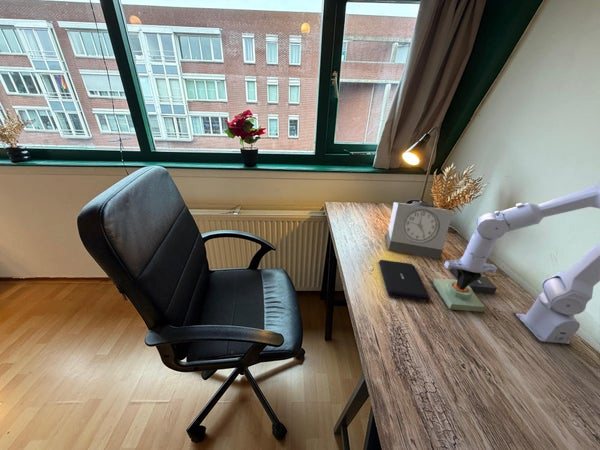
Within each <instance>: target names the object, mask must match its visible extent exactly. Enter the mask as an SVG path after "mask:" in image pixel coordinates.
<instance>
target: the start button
mask: <svg viewBox="0 0 600 450" xmlns="http://www.w3.org/2000/svg"><path fill="white" fill-rule="evenodd" d="M453 287H454V288H455V289H456V290H458V291H460V292H467V288H465V289H459V287H458V286H457V283H454V284H453Z"/></svg>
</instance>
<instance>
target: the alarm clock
mask: <svg viewBox="0 0 600 450" xmlns="http://www.w3.org/2000/svg"><path fill="white" fill-rule="evenodd" d="M453 212H454V210H451V209H446V208H439V207H434V206H433V203H429V202H423V201H414V200H413V201H412V203H403V202H396V201H394V202H393V205H392V209H391V216H390V218H389V225H388V229H387V232H386V236H385V237H386V243H387V250H388V251H391V252H395V253H401V254H402V253H403V254H407V255H412V256H419V257H423V258H431V259H435V260H441V259H442V256H443V252H444V248H445V243H446V240H447V236H448V231H449V228H450V224H451V220H452V216H453Z"/></svg>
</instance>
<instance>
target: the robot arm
mask: <svg viewBox="0 0 600 450" xmlns="http://www.w3.org/2000/svg"><path fill="white" fill-rule="evenodd" d="M586 208H594V209H600V181H599V182H597V183H595V184H593V185H591V186H588V187H586V188H583V189H580V190H577V191H573V192H571V193H568V194H565V195H562V196H560V197H556V198H553V199H551V200H548V201H545V202H542V203H539V204H534V203H530V202H527V203H524V204H523V202H519V203H516V204H515V206H514V207H510V208H507V209H504V210H501V211H499V210H496V211H494V213H493V212H492V213H491V212H487V213H485V214H482V215H480V217H478V218H476V226H477V227H476V228H475V230H474V231H473V234H472V235H471V237H470V240H469V241H468V243H467V246H466V248H465V251H464V252H463V255H462V256H461V257H460V258H459V259H452V260H445V262H444V265H443V266H444V268H445V269H446V270H450V271H451V268H452V269H457V275H458V278H456V280H457V286H458V287H459V289H465V288H466V287H467V286H468V285H469V284H470V283H472V282H473V281H475V280H476V279H479V278H480V277H481V274H480V273H479V272H483V273H484V272H490V273H491V274H495V273H496V272H497V270H498V267H497V266H496V265H495V264H493V263H488V262H487V260H488V259H489V256H490V254H491V253H492V251H493V249H494V247H495V245H496V242H497V240H498V239H500V238H502V237H503V236H504V235H505V234H506V233H508V232H513V231H516V230H519V229H523V228H528V227H532V226H535V225H539V224H540V223H541V221H542V220H543V219H544V218H547V217H551V216H556V215H560V214H565V213H569V212H573V211H577V210H582V209H586ZM599 282H600V240H599V241H598V242H597V243H596V244H595V245H594V246H593V247H592V248H590V250H588V251H587V253H585V254H584V255H583V256H582V257H581V258H580V259H578V260H577V262H575V263H574V264H573V265H572V266H570V268H569V269H568V270H560V271H558V272H557V273H556V274H554V275H551V276H548V277H547V278H545V279H544V280H543V281H542V284H541V286H542V288H543V291H542V293H540V294H539V295H538V297H537V298H536V299H535V301H534V303H532V305H531V307H530V308H529V310H528V311H527V312H526V313H516V314H515V315H516V317H517V318H518V319H519V320H520V322H522V324H523V325H524V326H526V328H528V330H529V331H530V332H531V333H532V334H533V335H534V336H535V337H536V339H537V340H539V341H540V342H544V343H553V344H565V345H566V344H567V345H568V344H570V343H571V341H570V339H571V338H573V336H574V335H575V334H576V333H577V331H579V329H580V326H581V325H580V323H579V321H578V320H577V319H576V317H575V315H579V314H581V313H583V312H585V310H586V307H587V304H588V302H590V301H591V300H592V299H593V293H594V287H595V286H596V285H597V284H599Z"/></svg>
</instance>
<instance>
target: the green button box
mask: <svg viewBox="0 0 600 450" xmlns="http://www.w3.org/2000/svg"><path fill="white" fill-rule="evenodd" d="M454 283H457V279H449V278H437V277H436V278H434V280H433V282H432V284H433V285H434V287H435V289H436V290H437V292H438V293H439V295H440V296H441V298H442V300H443V301H444V303H445V304H446V306H447V307H448V309H449V310H455V311H457V310H458V311H468V312H481V313H482V312H483V311H484V309H485V308H486V307H485V304H484V303H482V301H481V300H480V299H479V297H478V296H477V295H476V294H475V292H473V290H472V289H471V288H470V286H467V287H466V288H467V292H460V291H458V290H456V289H455V288H454V287H453V284H454Z"/></svg>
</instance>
